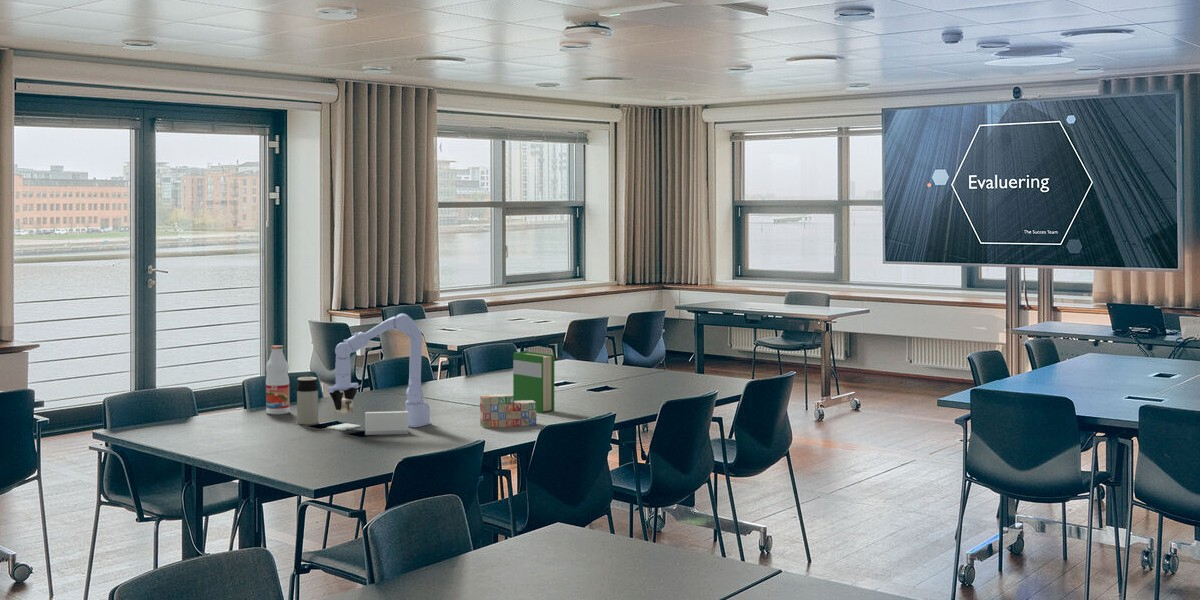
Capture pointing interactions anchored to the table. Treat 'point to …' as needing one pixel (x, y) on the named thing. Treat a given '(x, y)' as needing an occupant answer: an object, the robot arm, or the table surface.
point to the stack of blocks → (506, 411)
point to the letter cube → (345, 406)
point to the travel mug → (307, 401)
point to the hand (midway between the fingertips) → (343, 408)
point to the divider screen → (386, 423)
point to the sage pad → (343, 426)
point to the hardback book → (534, 379)
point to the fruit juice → (277, 383)
